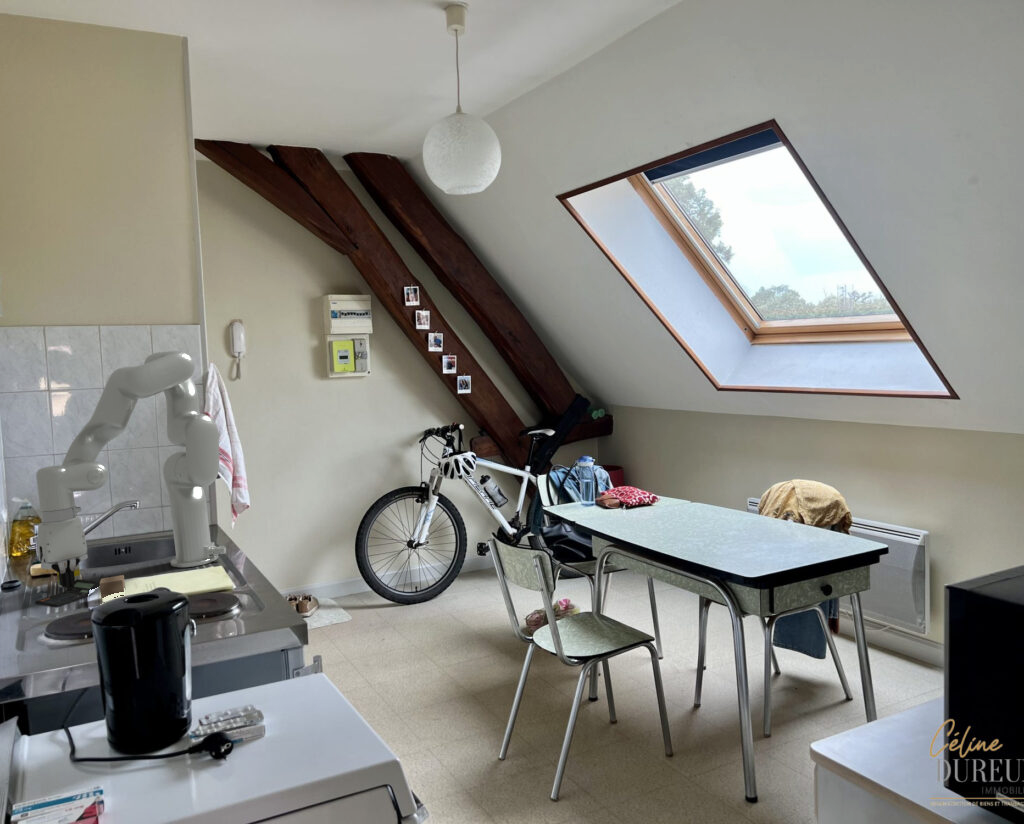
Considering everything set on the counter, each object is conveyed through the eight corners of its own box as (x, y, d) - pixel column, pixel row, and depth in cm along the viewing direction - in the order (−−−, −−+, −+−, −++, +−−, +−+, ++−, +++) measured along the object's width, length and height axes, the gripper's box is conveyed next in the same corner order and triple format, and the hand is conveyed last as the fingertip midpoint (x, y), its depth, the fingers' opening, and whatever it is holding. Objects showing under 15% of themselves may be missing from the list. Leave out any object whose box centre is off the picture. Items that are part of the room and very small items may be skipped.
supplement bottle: (80, 585, 210) (75, 550, 209) (57, 589, 208) (52, 553, 207) (82, 580, 215) (78, 545, 214) (60, 584, 213) (55, 549, 212)
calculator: (35, 604, 197) (34, 592, 196) (79, 589, 207) (78, 578, 207) (58, 608, 192) (57, 596, 192) (102, 593, 202) (101, 581, 202)
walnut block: (126, 594, 199) (123, 574, 199) (124, 599, 194) (122, 579, 194) (103, 598, 197) (101, 578, 197) (101, 603, 193) (99, 583, 192)
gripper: (83, 508, 206) (91, 576, 207) (20, 520, 194) (29, 593, 196) (96, 510, 201) (105, 580, 203) (32, 523, 189) (42, 598, 191)
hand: (68, 586), depth 199 cm, fingers closed
